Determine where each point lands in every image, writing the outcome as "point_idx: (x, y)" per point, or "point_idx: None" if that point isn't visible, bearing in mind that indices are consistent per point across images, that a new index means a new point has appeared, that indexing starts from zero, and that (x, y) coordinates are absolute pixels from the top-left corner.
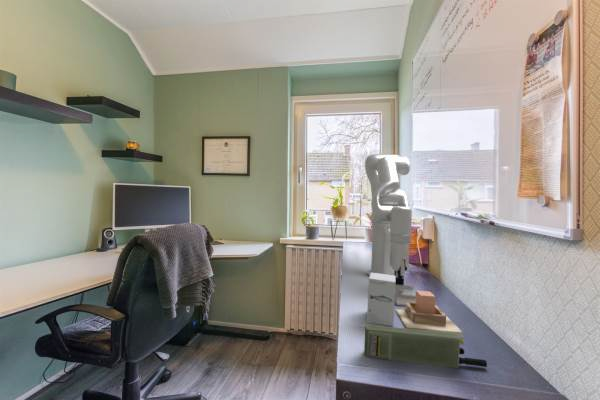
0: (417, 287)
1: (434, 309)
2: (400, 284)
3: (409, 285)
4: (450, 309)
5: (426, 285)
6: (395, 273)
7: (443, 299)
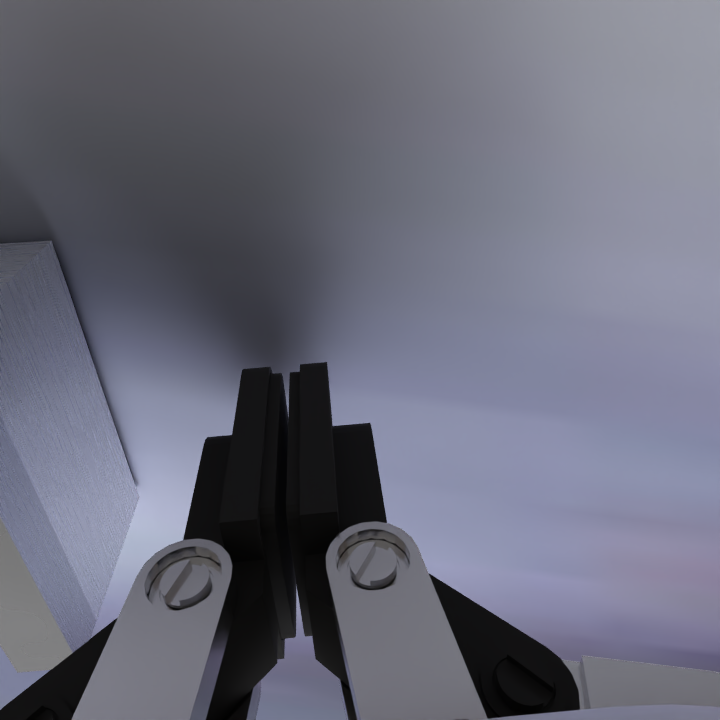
0: (608, 595)
1: None
2: (3, 523)
3: (38, 638)
4: None
5: (681, 666)
6: (332, 613)
7: (270, 710)
